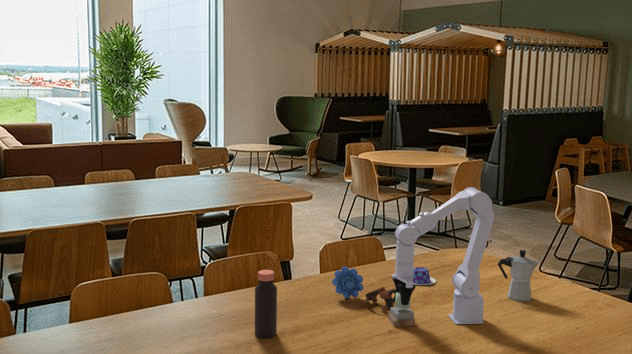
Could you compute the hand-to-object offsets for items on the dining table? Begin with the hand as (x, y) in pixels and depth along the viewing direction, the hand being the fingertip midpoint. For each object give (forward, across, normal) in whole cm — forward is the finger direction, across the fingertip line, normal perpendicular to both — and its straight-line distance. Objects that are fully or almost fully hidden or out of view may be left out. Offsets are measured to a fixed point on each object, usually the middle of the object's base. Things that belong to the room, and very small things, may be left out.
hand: (402, 301), depth 213 cm
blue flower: (+7, -22, -14) cm, 27 cm away
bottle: (+7, +6, -45) cm, 46 cm away
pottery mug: (+7, -14, -3) cm, 16 cm away
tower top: (+5, 0, 0) cm, 5 cm away
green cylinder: (+1, 0, 0) cm, 1 cm away
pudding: (+8, -40, +18) cm, 44 cm away
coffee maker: (+7, -19, +48) cm, 52 cm away
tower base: (+7, 0, 0) cm, 7 cm away
